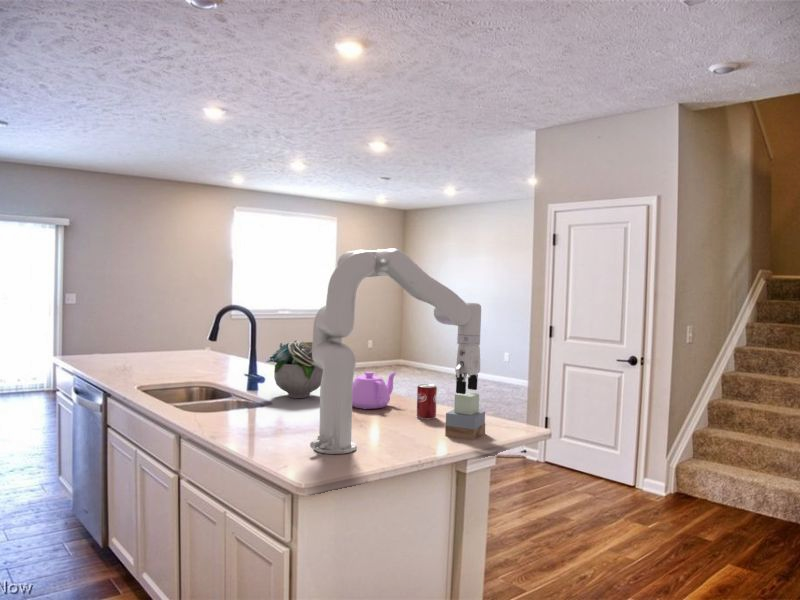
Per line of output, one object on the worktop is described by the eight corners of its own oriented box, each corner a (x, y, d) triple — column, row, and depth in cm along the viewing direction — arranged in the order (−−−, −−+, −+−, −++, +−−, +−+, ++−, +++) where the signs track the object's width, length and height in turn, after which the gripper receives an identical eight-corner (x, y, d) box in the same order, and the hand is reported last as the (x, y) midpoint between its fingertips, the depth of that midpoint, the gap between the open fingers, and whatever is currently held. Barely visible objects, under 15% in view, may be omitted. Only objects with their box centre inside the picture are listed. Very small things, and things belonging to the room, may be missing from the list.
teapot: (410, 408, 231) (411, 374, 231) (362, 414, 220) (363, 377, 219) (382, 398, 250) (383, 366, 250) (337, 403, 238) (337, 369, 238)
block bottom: (473, 441, 186) (473, 429, 186) (445, 436, 192) (445, 424, 191) (485, 435, 195) (485, 423, 195) (457, 430, 200) (458, 419, 200)
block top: (474, 429, 186) (474, 417, 186) (445, 425, 191) (446, 413, 191) (484, 423, 195) (485, 411, 195) (457, 419, 200) (457, 407, 200)
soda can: (419, 420, 212) (420, 387, 212) (414, 415, 219) (414, 384, 219) (438, 419, 214) (439, 387, 213) (432, 415, 221) (433, 383, 220)
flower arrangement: (303, 405, 232) (304, 344, 232) (257, 397, 245) (258, 339, 244) (340, 395, 254) (341, 339, 253) (295, 389, 266) (296, 336, 266)
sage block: (470, 415, 189) (471, 396, 188) (454, 412, 192) (454, 394, 192) (478, 412, 194) (479, 394, 193) (462, 409, 197) (463, 391, 197)
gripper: (469, 342, 183) (466, 396, 183) (488, 339, 198) (486, 389, 199) (447, 340, 187) (445, 393, 187) (468, 337, 202) (466, 386, 202)
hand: (466, 391), depth 193 cm, fingers open, 9 cm apart
